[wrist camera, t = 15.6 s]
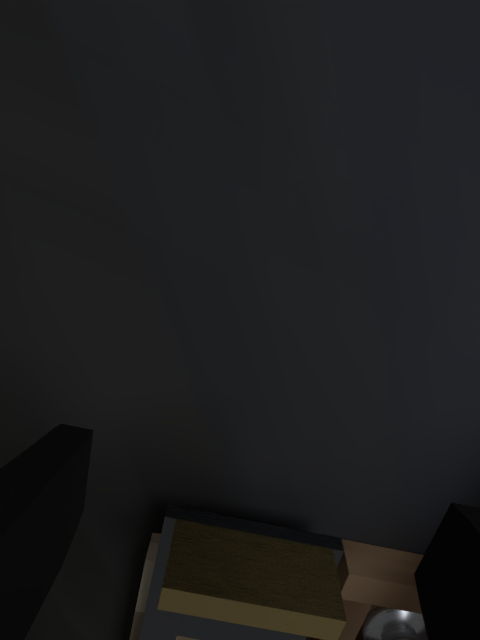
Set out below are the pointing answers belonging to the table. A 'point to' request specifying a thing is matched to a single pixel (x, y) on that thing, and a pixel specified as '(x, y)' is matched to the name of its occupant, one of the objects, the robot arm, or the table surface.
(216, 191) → the table surface
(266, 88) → the table surface
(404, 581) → the frame
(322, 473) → the table surface
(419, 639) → the steel peg
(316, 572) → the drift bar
